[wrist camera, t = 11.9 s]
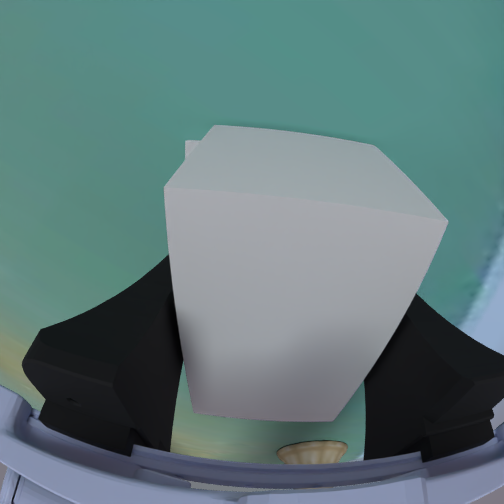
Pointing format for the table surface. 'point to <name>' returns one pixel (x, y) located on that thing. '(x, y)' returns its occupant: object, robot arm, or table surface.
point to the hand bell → (313, 453)
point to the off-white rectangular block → (290, 268)
